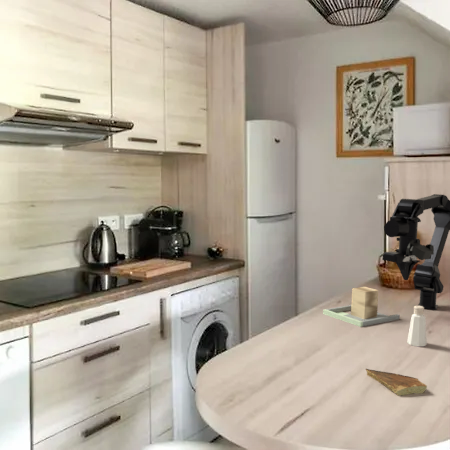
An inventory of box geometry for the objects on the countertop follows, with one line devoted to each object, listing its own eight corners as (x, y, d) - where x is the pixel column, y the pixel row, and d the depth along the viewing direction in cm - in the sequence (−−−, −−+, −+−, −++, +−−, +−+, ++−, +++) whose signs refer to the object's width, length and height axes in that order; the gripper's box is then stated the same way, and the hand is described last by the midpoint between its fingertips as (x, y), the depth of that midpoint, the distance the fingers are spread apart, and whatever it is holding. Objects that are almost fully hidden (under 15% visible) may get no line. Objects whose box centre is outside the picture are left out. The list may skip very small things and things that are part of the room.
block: (363, 312, 183) (364, 286, 182) (377, 316, 178) (378, 290, 177) (350, 314, 180) (352, 288, 179) (364, 319, 175) (365, 292, 174)
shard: (365, 375, 131) (365, 367, 131) (398, 372, 134) (398, 364, 133) (395, 398, 118) (396, 388, 118) (431, 394, 121) (432, 384, 121)
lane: (360, 310, 190) (361, 303, 190) (399, 322, 176) (399, 314, 176) (322, 317, 181) (323, 309, 180) (360, 330, 166) (360, 322, 166)
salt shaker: (428, 347, 151) (430, 309, 150) (408, 345, 153) (410, 308, 151) (425, 341, 157) (427, 304, 156) (405, 340, 158) (407, 303, 157)
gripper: (409, 239, 172) (406, 287, 174) (445, 236, 182) (443, 281, 184) (382, 235, 182) (380, 280, 183) (418, 233, 192) (416, 276, 193)
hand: (405, 279), depth 186 cm, fingers closed
